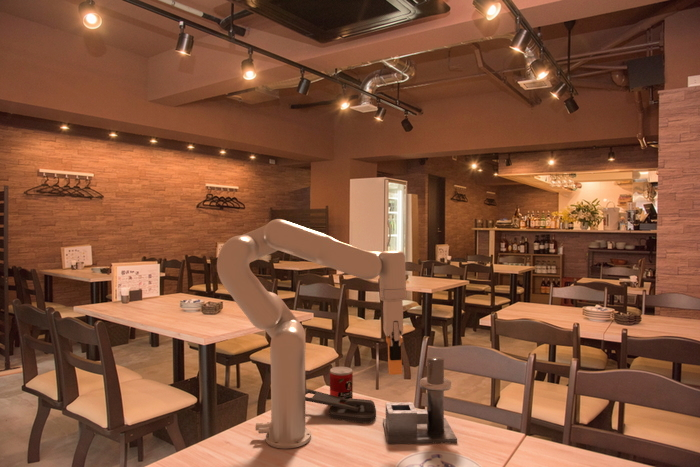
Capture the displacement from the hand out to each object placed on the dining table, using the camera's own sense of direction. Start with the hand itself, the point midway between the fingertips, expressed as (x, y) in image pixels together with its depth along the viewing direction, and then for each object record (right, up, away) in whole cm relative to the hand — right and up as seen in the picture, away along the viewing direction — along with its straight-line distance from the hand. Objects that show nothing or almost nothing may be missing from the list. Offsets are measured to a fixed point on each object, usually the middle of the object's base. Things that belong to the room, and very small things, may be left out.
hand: (395, 357), depth 132 cm
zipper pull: (-17, -22, +14) cm, 31 cm away
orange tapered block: (0, -4, 0) cm, 4 cm away
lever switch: (+7, -22, +1) cm, 23 cm away
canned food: (-16, -22, +25) cm, 37 cm away
